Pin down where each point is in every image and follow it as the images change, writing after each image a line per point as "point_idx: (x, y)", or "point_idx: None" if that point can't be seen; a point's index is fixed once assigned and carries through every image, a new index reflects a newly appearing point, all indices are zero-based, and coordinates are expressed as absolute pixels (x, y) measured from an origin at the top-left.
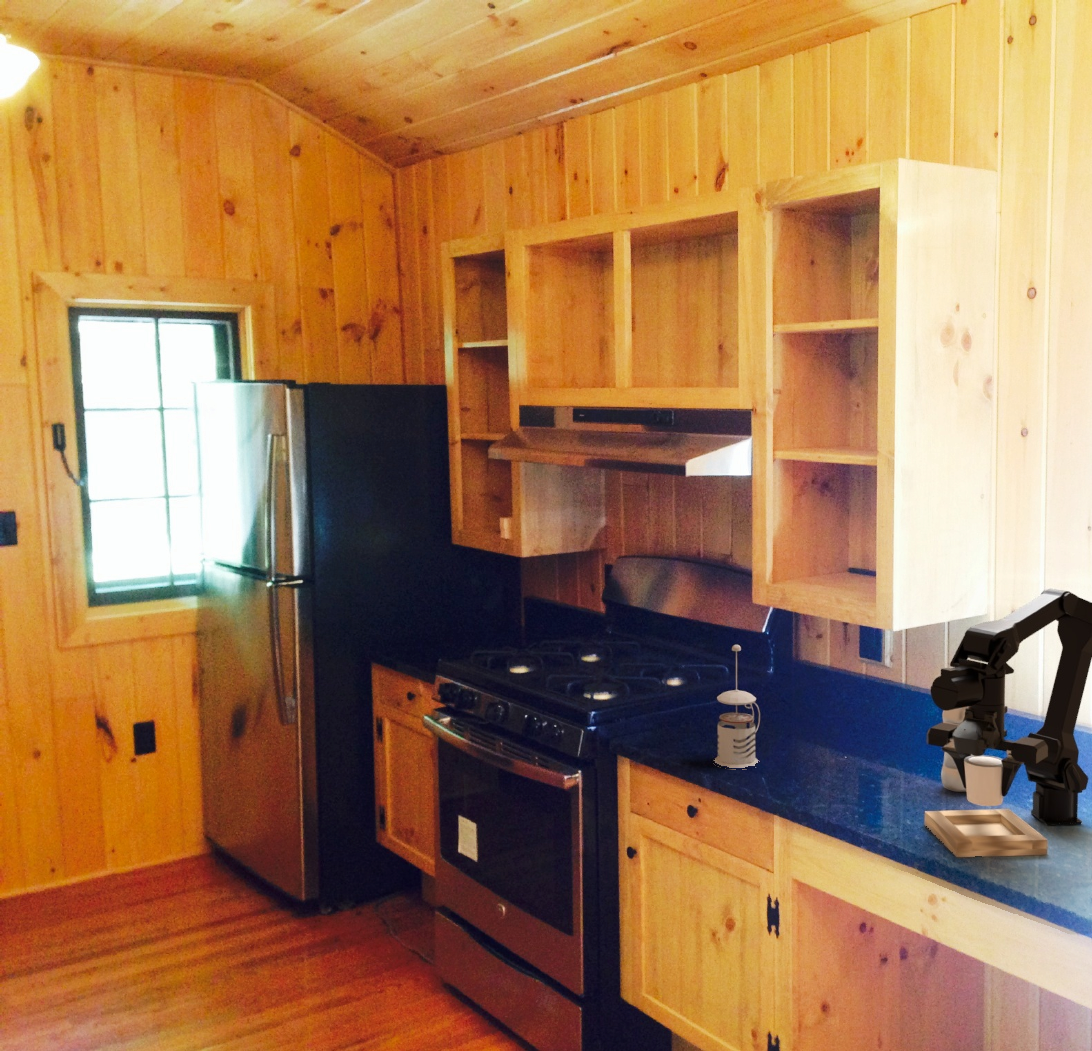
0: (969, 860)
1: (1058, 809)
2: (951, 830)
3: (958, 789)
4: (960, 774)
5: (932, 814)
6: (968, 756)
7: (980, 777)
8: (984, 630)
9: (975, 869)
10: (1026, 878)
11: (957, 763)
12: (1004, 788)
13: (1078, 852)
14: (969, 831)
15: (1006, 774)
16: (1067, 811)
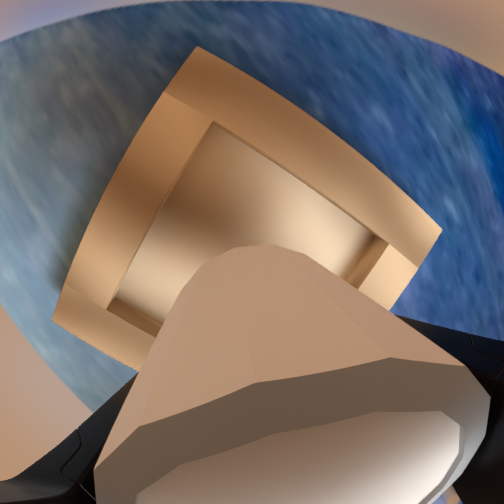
0: (159, 74)
1: None
2: (289, 131)
3: None
4: (435, 329)
5: (416, 223)
6: (466, 465)
7: (224, 315)
8: None
9: (110, 39)
10: (6, 115)
11: (501, 351)
12: (129, 388)
13: (56, 364)
14: (287, 245)
15: (71, 451)
16: None
